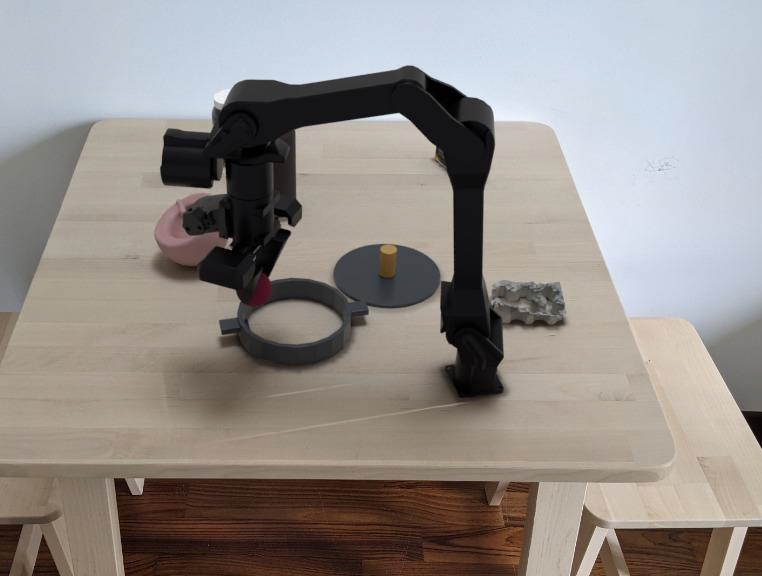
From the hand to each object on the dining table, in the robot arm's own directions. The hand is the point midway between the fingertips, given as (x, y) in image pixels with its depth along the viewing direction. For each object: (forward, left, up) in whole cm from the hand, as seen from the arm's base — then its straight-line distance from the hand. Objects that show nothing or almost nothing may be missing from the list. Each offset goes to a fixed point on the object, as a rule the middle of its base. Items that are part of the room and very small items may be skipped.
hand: (254, 292), depth 121 cm
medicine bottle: (+49, -48, -12) cm, 69 cm away
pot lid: (+16, -24, -12) cm, 31 cm away
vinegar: (+40, -11, -12) cm, 43 cm away
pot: (+6, -7, -12) cm, 15 cm away
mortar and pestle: (+28, +5, -12) cm, 31 cm away
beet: (0, 0, -2) cm, 2 cm away
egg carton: (+3, -42, -12) cm, 43 cm away
